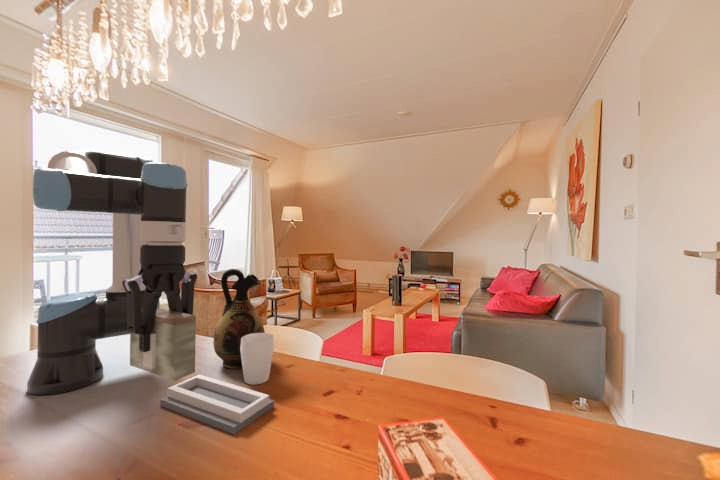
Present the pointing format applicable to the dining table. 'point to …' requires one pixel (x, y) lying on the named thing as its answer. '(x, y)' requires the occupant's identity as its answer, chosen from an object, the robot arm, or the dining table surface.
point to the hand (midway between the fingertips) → (161, 362)
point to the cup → (256, 357)
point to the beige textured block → (169, 345)
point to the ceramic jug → (236, 319)
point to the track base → (212, 416)
